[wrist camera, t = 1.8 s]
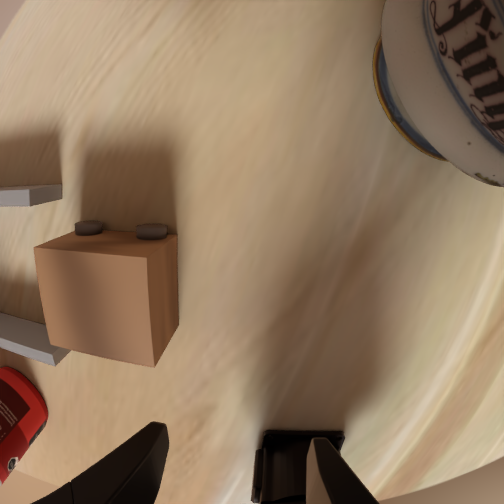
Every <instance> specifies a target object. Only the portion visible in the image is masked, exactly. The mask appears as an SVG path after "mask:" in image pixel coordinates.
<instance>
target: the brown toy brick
mask: <svg viewBox="0 0 504 504" xmlns="http://www.w3.org/2000/svg"><path fill="white" fill-rule="evenodd" d="M34 254H35V263H36V270H37V278H38V284H39V290H40V296H41V302H42V307H43V313H44V318H45V322H46V327H47V332H48V336H49V340H50V344H51V345H54V346H58V347H62V348H66V349H69V350H73V351H77V352H81V353H86V354H90V355H94V356H98V357H103V358H107V359H112V360H117V361H122V362H127V363H132V364H137V365H143V366H148V367H154V368H155V366H156V364H157V363H158V361H159V359H160V357H161V355H162V354H163V352H164V350H165V348H166V347H167V345H168V343H169V341H170V340H171V338H172V336H173V334H174V333H175V331H176V329H177V327H178V326H179V316H178V278H177V235H172V234H167V226H166V225H163V224H142V225H138V226H137V227H136V232H123V231H106V230H102V222H101V221H83V222H78V223H75V231H73V232H71V233H68V234H66V235H63V236H61V237H58V238H56V239H53V240H51V241H48V242H46V243H43V244H41V245H38V246H36V247H34Z"/></svg>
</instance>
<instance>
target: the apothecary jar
mask: <svg viewBox="0 0 504 504" xmlns="http://www.w3.org/2000/svg"><path fill="white" fill-rule="evenodd" d="M381 35H382V36H381V37H380V39H379V41H378V43H377V45H376V47H375V50H374V57H373V77H374V83H375V88H376V92H377V95H378V98H379V101H380V103H381V105H382V107H383V109H384V111H385V113H386V115H387V117H388V118H389V120H390V121H391V123H392V124H393V125H394V127H395V128H396V129H397V130H398V131H399V133H400V134H401V135H402V136H403V137H404V138H405V139H406V140H407V141H408V142H410V143H411V144H412V145H413V146H414V147H416V148H417V149H418V150H420V151H421V152H423V153H425V154H427V155H429V156H431V157H434V158H436V159H439V160H443V161H449V162H450V163H452V164H453V165H454V166H456V167H457V168H458V169H460V170H461V171H462V172H464V173H466V174H467V175H469V176H471V177H473V178H475V179H477V180H479V181H481V182H484V183H486V184H489V185H493V186H499V187H504V0H386V2H385V5H384V9H383V14H382V22H381Z"/></svg>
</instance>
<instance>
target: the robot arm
mask: <svg viewBox="0 0 504 504" xmlns="http://www.w3.org/2000/svg"><path fill="white" fill-rule="evenodd" d="M344 439H345V435H344V433H343V432H342V431H324V432H314V431H278V430H267V431H265V432H264V434H263V442H262V449H258V450H256V453H255V461H254V471H253V483H252V495H251V501H252V502H253V503H258V504H379V503H378V501H377V500H376V499H375V498H374V496H373V495H372V494H371V493H370V492H369V490H368V489H367V488H366V487H365V486H364V484H363V483H362V482H361V481H360V479H359V478H358V477H357V476H356V474H355V473H354V472H353V471H352V469H351V468H350V467H349V466H348V464H347V463H346V462H345V461H344V459H343V458H342V457H341V453H340V450H341V447H342V445H343V442H344ZM168 449H169V437H168V431H167V426H166V424H164V423H160V422H155V421H153V422H150V423H149V424H148V425H147V426H145V427H144V428H143V429H141V430H140V431H139V432H137V433H136V434H135V435H133V436H132V437H131V438H129V439H128V440H127V441H125V442H124V443H123V444H121V445H120V446H119V447H117V448H116V449H115V450H113V451H112V452H111V453H109V454H108V455H106V456H105V457H104V458H102V459H101V460H99V461H98V462H97V463H95V464H94V465H92V466H91V467H90V468H88V469H87V470H85V471H84V472H82V473H81V474H80V475H78V476H77V477H75V478H74V479H72V480H71V482H68V483H66V484H65V485H63V486H62V487H60V488H59V489H57V490H56V491H54V492H52V493H50V494H49V495H47V496H46V497H43V498H41V499H39V500H37V501H35V502H33V503H32V504H154V502H155V500H156V497H157V494H158V491H159V488H160V484H161V480H162V475H163V471H164V467H165V462H166V458H167V453H168Z"/></svg>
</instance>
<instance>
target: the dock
mask: <svg viewBox="0 0 504 504" xmlns="http://www.w3.org/2000/svg"><path fill="white" fill-rule="evenodd" d="M60 199H62V184H56V185H32V186H13V187H0V207H1V206H33V205H38V204H42V203H46V202H51V201H55V200H60ZM0 347H1V348H3V349H6V350H9V351H11V352H14V353H17V354H19V355H22V356H25V357H28V358H31V359H34V360H37V361H40V362H43V363H46V364H49V365H52V366H56V365H57V364H58V363H59V362H60V361H61V360H62V359H63V358H64V357H65V356H66V355H67V354H68V353H69V352H70V351H71V350H69V349H66V348H62V347H58V346H54V345H51V344H50V340H49V336H48V332H47V327H46V325H44V324H40V323H36V322H33V321H29V320H25V319H22V318H18V317H14V316H11V315H7V314H4V313H1V312H0Z"/></svg>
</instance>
